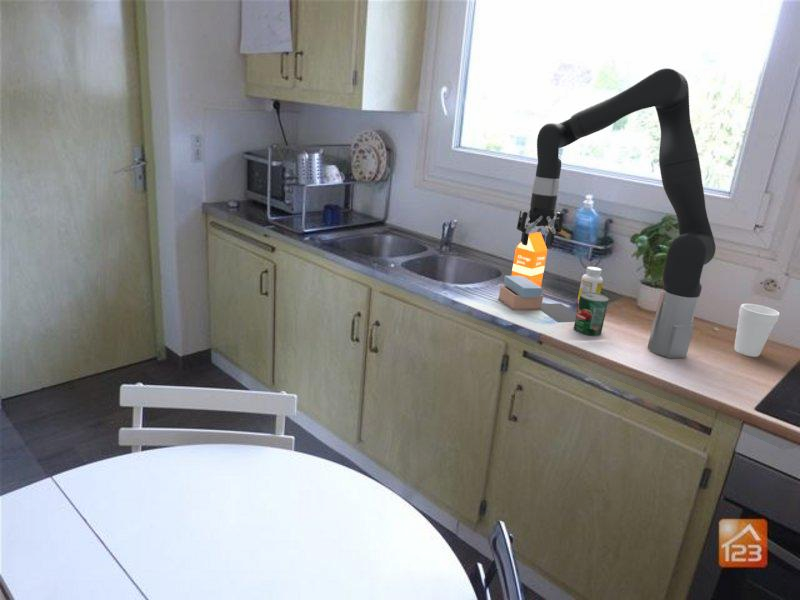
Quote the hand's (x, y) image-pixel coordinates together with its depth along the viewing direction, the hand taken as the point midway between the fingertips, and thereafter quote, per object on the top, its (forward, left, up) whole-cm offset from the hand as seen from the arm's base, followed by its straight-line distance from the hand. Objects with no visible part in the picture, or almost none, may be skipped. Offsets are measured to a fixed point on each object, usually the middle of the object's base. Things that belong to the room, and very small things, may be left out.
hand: (536, 245), depth 176 cm
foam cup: (-40, -49, -21) cm, 66 cm away
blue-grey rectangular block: (+1, +2, -15) cm, 15 cm away
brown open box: (+1, +2, -20) cm, 20 cm away
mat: (-7, -8, -20) cm, 23 cm away
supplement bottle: (0, -23, -21) cm, 31 cm away
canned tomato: (-22, -8, -21) cm, 31 cm away
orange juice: (+19, -10, -21) cm, 30 cm away
